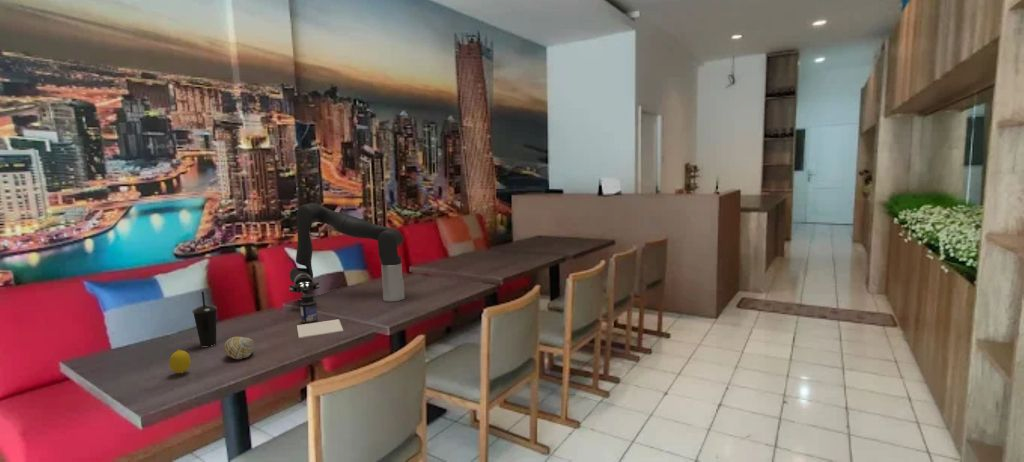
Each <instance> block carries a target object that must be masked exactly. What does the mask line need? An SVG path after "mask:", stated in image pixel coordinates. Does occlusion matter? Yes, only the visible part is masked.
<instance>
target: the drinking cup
mask: <svg viewBox="0 0 1024 462" xmlns="http://www.w3.org/2000/svg"><path fill="white" fill-rule="evenodd" d="M201 297H202V305H200V306H198V307H196V308H195V309H193V310H191V312H192V314H193V317H194V318H193V319H194V321H195V326H196V331H197V335H198V339H199V343H200V347H201V346H211V345H214V344H216V345H217V310H218V307H217V306H215V305H210V304H206V300H205V292H204V291H201ZM214 346H215V345H214Z"/></svg>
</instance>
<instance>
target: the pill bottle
mask: <svg viewBox="0 0 1024 462" xmlns="http://www.w3.org/2000/svg"><path fill="white" fill-rule="evenodd" d="M299 304H300V305H299V306H300V315H301V316H300V317H301V323H302V324H310V323H317V321H318V320H319V319H318V311H317V301H316V300H315V299H314V294H311V293H308V294H303V295H301V302H300V303H299Z"/></svg>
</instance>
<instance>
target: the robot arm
mask: <svg viewBox="0 0 1024 462" xmlns="http://www.w3.org/2000/svg"><path fill="white" fill-rule="evenodd" d="M313 223H322V224H325V225H329V226H331V227H332V228H333V229H335V230H336V231H337V232H339V233H340V234H343V235H345V236H349V237H351V238H352V237H353V238H356V239H357V238H358V239H366V240H367V239H368V240H375V241H377V248H378V257H379V260H380V264H381V267H380V268H381V279H382V297H383V301H384V302H388V303H389V302H399V301H401V300H405V284H404V283H405V282H404V278H403V267H402V257H401V256H399V252H398V247H400V246H401V245H402V244H403V241H404V237H403V234H402V233H401V231H400V230H399V229H396V228H392V227H388V226H383V225H380V224H379V225H378V224H375V223H373V222H370V221H367V220H364V219H362V218H358V217H357V216H353V215H349V214H345V213H342V212H339V211H335V210H332V209H329V208H328V207H325V206H323V205H320V204H318V203H316V202H310V203H306V204H302V205H300V206H299V207H298V209H297V210H296V226H297V227H296V229H297V232H296V233H297V246H296V254H295V255H296V256H295V263H296V264H298V265H301V266H303V267H293V268H292V269H291V270H290V271H289V279H290V281H291V282H292V283H294V284H293V285H289V286H288V287H289V292H293V293H298V294H299V293H301V294H303V295H307V294H310V292H313V291H316V290H318V289H320V282H313V279H314V271H313V266H312V258H313V250H314V249H313V248H314V247H313V243H312V242H313V241H312V239H311V234H310V233H311V227H312V224H313Z"/></svg>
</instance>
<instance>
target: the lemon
mask: <svg viewBox="0 0 1024 462" xmlns="http://www.w3.org/2000/svg"><path fill="white" fill-rule="evenodd" d="M169 358H170V359H169V366H170V369H171V371H173V372H174V373H177V374H180V373H182V372H184V373H185V372H186V371H188V369H189V368H190V366H191V362H192V359H191V357H190V355H189V353H188V352H187V351H185V350H182V349H177V350H176V351H175V352H173V353H172V354H171V356H170V357H169Z"/></svg>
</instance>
